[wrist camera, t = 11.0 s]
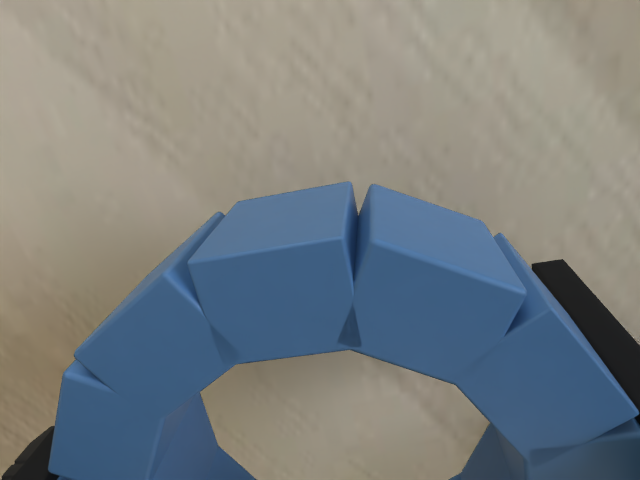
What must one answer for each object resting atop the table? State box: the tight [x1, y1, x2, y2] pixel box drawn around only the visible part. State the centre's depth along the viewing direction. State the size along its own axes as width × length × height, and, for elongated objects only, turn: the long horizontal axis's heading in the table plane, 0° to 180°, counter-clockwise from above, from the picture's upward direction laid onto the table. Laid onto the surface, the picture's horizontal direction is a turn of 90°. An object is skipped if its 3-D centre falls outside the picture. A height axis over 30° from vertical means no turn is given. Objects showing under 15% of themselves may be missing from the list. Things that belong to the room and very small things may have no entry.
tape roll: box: [48, 182, 640, 480], centre depth 10 cm, size 10×10×3 cm
